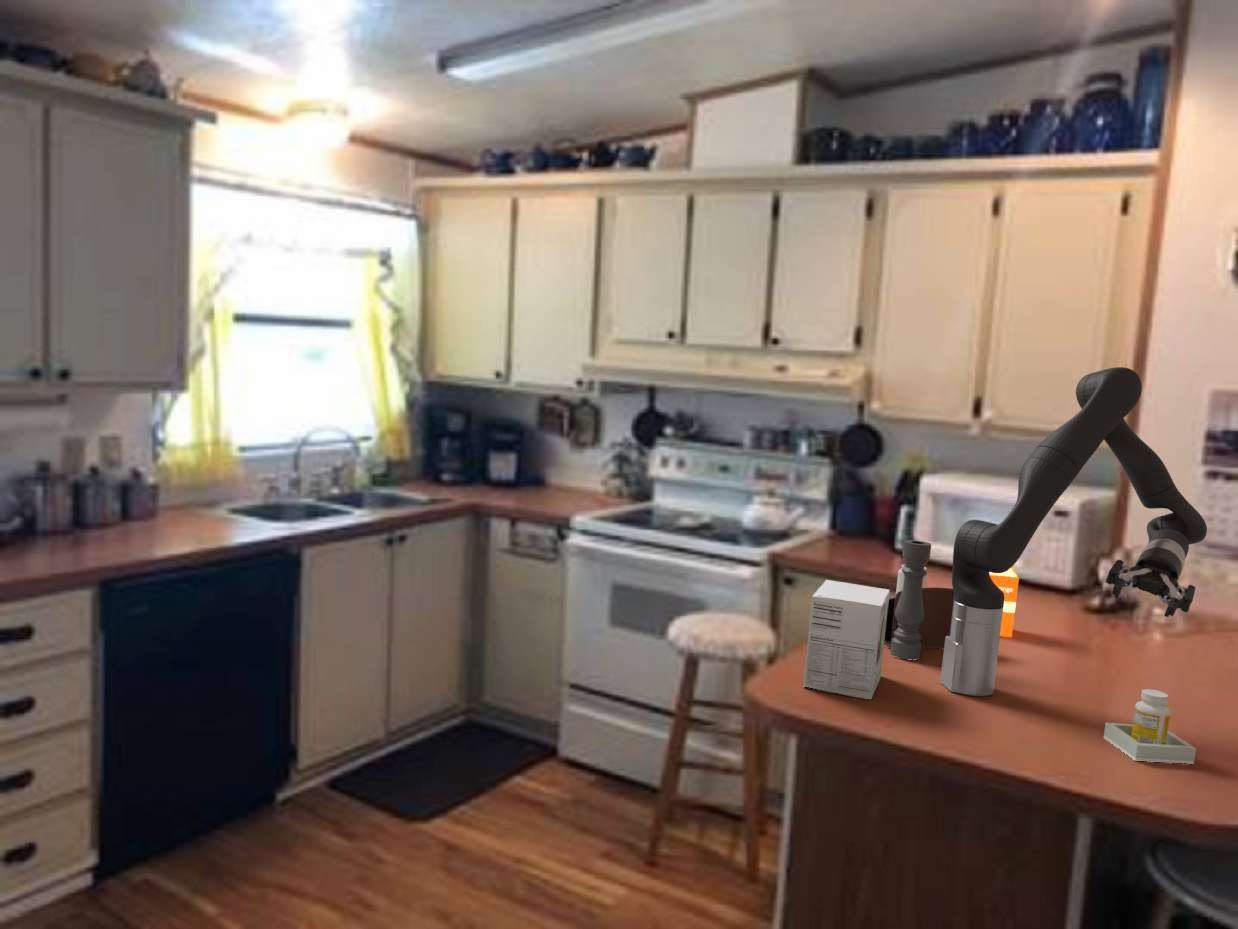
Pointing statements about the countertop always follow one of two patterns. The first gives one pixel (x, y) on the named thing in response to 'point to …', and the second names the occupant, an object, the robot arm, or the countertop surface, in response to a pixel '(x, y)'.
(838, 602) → the supplement box
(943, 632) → the letter holder
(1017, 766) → the countertop surface
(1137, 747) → the square tray
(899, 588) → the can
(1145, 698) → the supplement bottle
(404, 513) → the countertop surface
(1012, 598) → the orange juice
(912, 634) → the candle holder
